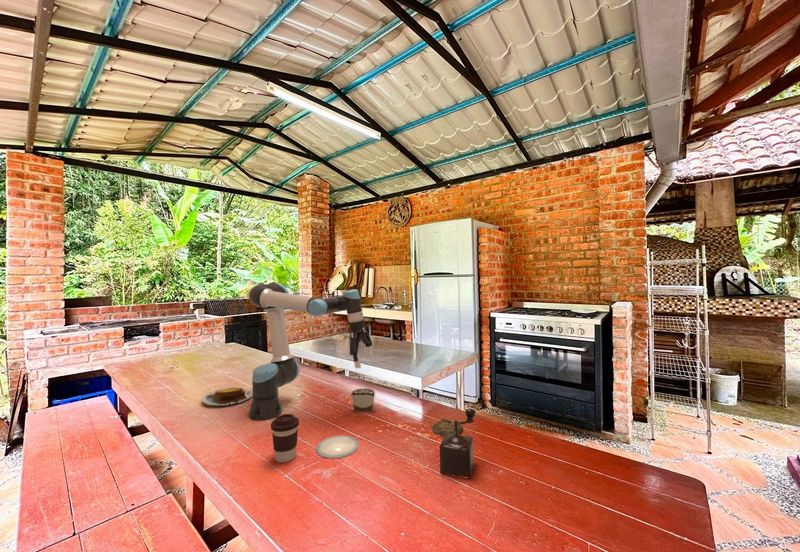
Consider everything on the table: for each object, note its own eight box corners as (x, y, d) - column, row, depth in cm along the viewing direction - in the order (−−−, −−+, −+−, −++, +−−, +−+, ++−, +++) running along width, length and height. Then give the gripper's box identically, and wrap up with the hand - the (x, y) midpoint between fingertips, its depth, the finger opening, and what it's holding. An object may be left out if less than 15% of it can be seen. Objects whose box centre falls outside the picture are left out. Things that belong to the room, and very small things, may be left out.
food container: (377, 407, 166) (377, 388, 166) (375, 412, 160) (375, 392, 160) (354, 407, 167) (353, 387, 167) (351, 412, 161) (350, 391, 161)
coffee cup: (304, 453, 123) (304, 414, 123) (285, 467, 114) (285, 425, 114) (285, 448, 127) (284, 410, 127) (265, 461, 118) (264, 420, 118)
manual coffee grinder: (472, 480, 106) (471, 425, 106) (439, 474, 110) (438, 420, 110) (477, 455, 121) (476, 407, 121) (447, 450, 124) (447, 403, 124)
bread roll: (466, 430, 141) (466, 419, 141) (450, 441, 132) (450, 429, 132) (442, 422, 149) (442, 411, 150) (426, 431, 140) (425, 420, 140)
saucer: (311, 444, 130) (311, 442, 130) (348, 433, 139) (348, 431, 139) (324, 463, 117) (324, 461, 117) (364, 450, 125) (364, 448, 125)
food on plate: (243, 388, 198) (243, 378, 198) (260, 399, 181) (260, 387, 181) (196, 400, 180) (196, 388, 180) (209, 413, 163) (209, 400, 163)
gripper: (351, 324, 146) (360, 371, 146) (373, 315, 169) (381, 355, 169) (336, 327, 148) (345, 372, 148) (360, 317, 172) (368, 356, 172)
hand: (364, 363), depth 159 cm, fingers open, 13 cm apart
